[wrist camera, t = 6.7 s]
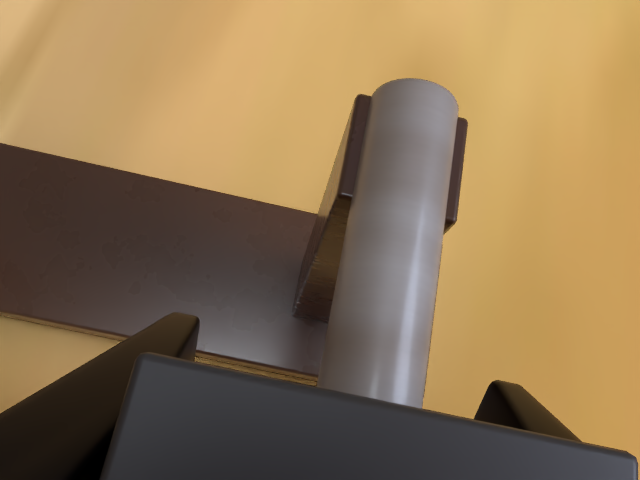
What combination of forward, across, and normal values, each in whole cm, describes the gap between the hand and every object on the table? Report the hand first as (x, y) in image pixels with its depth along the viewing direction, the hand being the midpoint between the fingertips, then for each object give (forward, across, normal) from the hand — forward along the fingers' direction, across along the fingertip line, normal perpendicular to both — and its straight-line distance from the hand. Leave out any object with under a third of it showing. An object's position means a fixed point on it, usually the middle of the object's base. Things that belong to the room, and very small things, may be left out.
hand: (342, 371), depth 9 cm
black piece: (+1, 0, +3) cm, 4 cm away
